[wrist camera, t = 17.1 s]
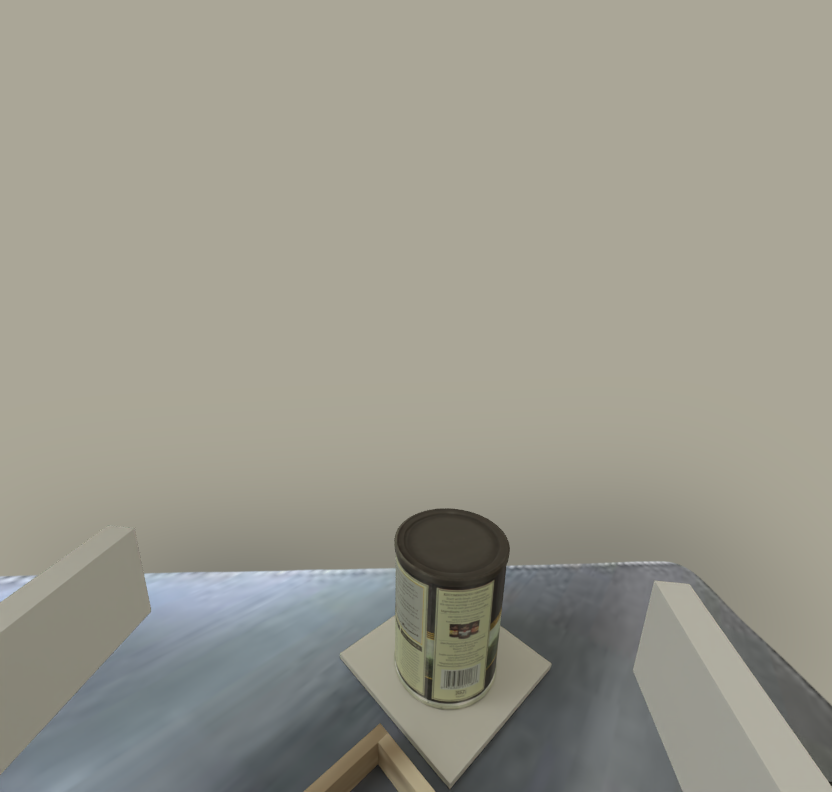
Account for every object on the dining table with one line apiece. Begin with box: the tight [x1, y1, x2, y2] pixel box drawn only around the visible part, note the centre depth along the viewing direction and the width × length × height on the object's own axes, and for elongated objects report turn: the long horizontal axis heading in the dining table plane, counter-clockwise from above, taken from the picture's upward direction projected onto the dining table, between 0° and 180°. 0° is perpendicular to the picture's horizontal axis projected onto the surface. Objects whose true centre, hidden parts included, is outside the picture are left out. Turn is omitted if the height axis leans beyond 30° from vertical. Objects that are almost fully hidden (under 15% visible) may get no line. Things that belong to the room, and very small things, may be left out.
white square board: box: [340, 615, 551, 789], centre depth 42 cm, size 15×15×1 cm
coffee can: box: [394, 509, 510, 709], centre depth 40 cm, size 10×10×14 cm
